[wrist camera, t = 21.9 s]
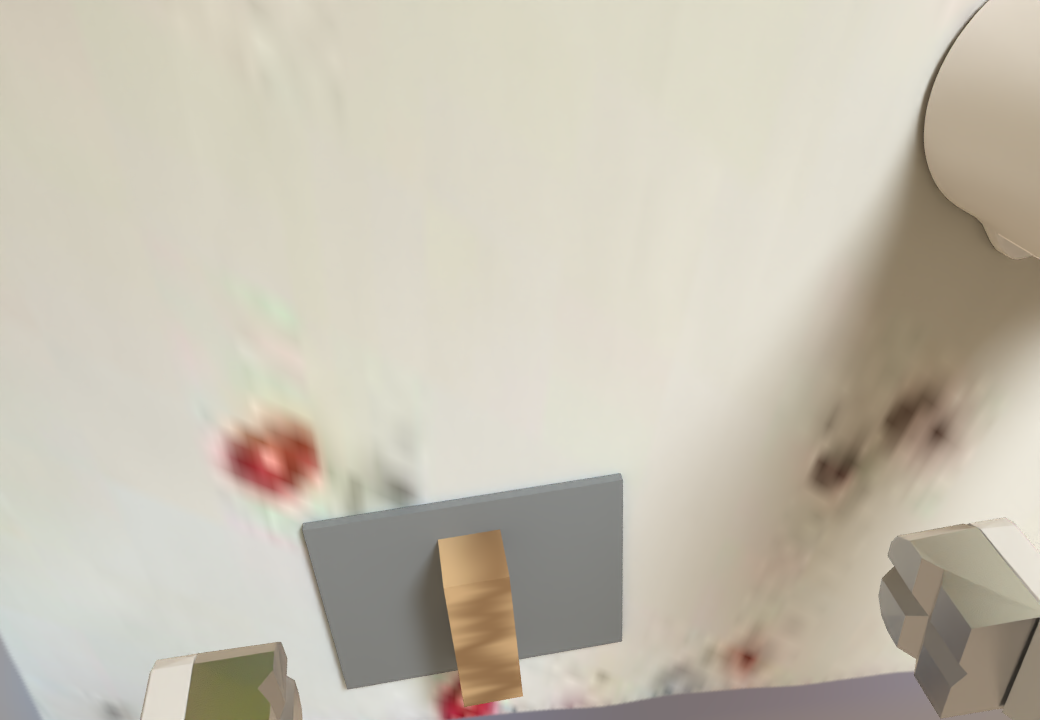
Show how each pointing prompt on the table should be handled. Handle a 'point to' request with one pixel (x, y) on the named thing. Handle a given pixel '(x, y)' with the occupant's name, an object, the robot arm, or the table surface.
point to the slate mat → (419, 585)
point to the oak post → (481, 616)
